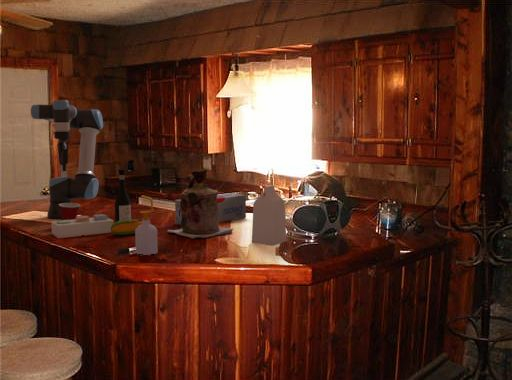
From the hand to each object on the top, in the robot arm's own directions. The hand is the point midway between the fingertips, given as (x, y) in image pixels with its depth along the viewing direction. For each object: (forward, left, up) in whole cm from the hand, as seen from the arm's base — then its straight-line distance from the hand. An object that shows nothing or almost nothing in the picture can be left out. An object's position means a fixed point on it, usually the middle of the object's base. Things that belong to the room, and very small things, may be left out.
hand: (64, 177), depth 289 cm
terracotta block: (+17, +4, -23) cm, 29 cm away
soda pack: (+22, +74, -27) cm, 81 cm away
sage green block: (+17, -5, -25) cm, 30 cm away
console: (+17, +4, -26) cm, 32 cm away
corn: (+32, +23, -27) cm, 47 cm away
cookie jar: (+48, +53, -27) cm, 76 cm away
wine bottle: (+10, +27, -27) cm, 39 cm away
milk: (+83, +71, -27) cm, 112 cm away
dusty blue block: (+17, +13, -23) cm, 32 cm away
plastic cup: (-3, +3, -27) cm, 27 cm away
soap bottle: (+74, +15, -27) cm, 80 cm away
